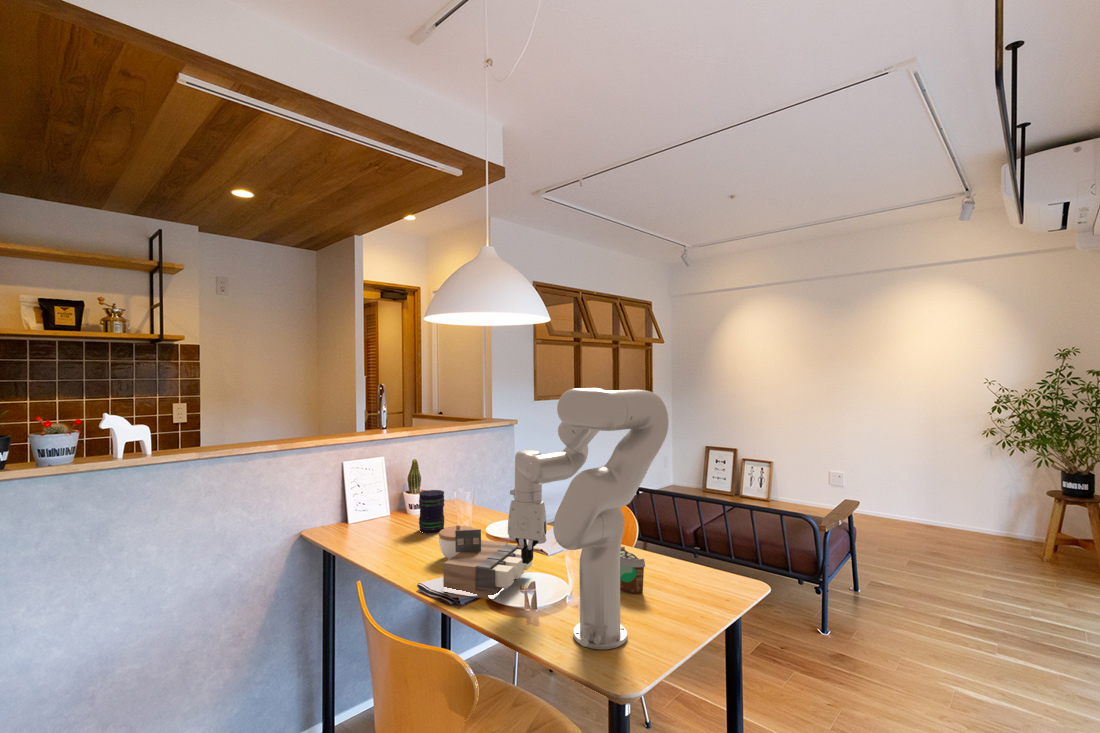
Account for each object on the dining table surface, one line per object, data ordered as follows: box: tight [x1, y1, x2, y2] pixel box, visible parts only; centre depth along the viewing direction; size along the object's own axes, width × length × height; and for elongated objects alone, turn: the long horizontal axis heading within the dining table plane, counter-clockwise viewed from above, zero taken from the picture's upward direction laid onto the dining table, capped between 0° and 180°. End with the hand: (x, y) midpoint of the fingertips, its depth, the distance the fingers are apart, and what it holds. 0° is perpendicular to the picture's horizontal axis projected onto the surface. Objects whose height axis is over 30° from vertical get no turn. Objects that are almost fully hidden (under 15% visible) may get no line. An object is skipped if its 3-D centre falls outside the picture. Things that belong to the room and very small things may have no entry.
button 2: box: [513, 549, 533, 571], centre depth 159 cm, size 4×5×4 cm
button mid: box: [503, 557, 524, 580], centre depth 153 cm, size 4×5×4 cm
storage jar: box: [418, 489, 445, 534], centre depth 208 cm, size 10×10×15 cm
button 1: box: [493, 565, 515, 589], centre depth 146 cm, size 4×5×4 cm
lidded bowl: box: [438, 524, 477, 561], centre depth 176 cm, size 13×13×11 cm
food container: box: [620, 546, 646, 595], centre depth 150 cm, size 12×6×10 cm, turn 21°
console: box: [442, 528, 525, 600], centre depth 156 cm, size 22×17×15 cm
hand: (527, 561), depth 144 cm, fingers closed
